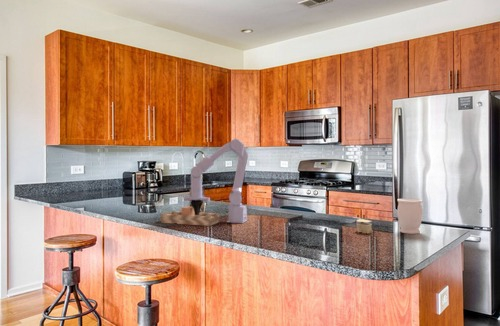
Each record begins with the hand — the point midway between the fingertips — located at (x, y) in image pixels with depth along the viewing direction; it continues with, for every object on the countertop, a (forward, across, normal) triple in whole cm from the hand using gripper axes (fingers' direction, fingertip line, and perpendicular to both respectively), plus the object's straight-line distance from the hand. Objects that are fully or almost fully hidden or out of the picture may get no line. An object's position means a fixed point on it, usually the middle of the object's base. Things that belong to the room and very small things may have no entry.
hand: (197, 214), depth 197 cm
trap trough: (+4, -4, 0) cm, 6 cm away
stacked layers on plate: (+5, +84, +3) cm, 85 cm away
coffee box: (+4, -10, +19) cm, 22 cm away
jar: (+5, +104, +8) cm, 105 cm away
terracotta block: (+1, -5, 0) cm, 6 cm away
